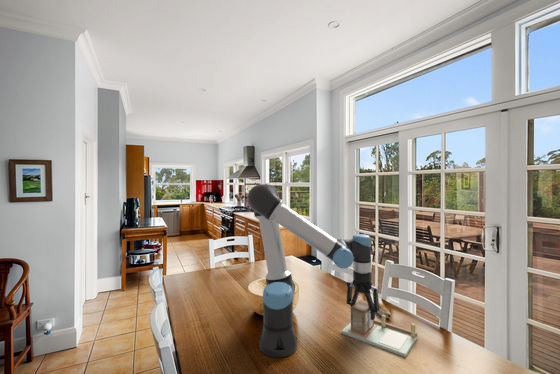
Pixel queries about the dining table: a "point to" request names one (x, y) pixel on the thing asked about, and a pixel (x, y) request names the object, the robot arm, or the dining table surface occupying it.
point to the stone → (383, 311)
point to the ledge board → (386, 336)
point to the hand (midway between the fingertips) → (362, 323)
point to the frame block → (360, 317)
